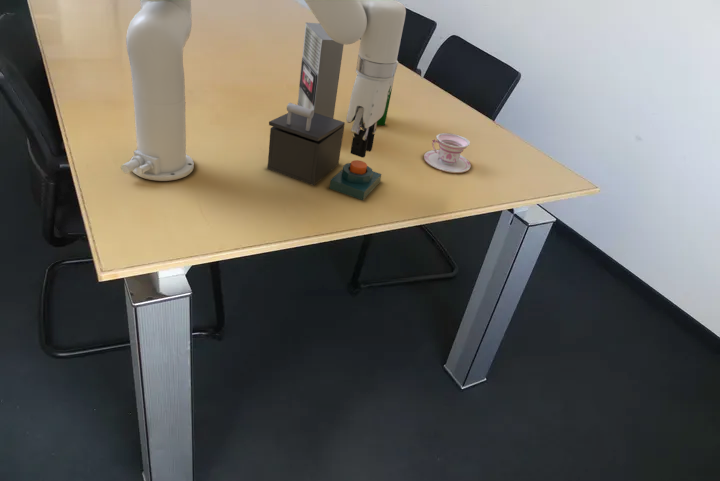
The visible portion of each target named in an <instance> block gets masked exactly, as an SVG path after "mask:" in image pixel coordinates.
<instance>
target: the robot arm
mask: <svg viewBox="0 0 720 481" xmlns="http://www.w3.org/2000/svg"><path fill="white" fill-rule="evenodd" d="M139 2H140V3H139V5H140V10H139V11H138V12H136V14H135V15H134V16H133V18H131V20H130V22H129V25H128V27H127V31H126V37H125V42H126V51H127V57H128V63H129V67H130V75H131V87H132V96H133V110H134V111H133V112H134V126H135V127H134V128H135V140H136V141H135V142H136V149H135V150H133V156H132V157H131V158H130V160H129V161H126V162H124V163H122V164H121V166H120V169H121V171H122V172H123V173H124V174H129V173H131V172H132V173H133V174H135V175H136V176H138V177H140V178H142V179H146V180H150V181H156V182H168V181H169V182H170V181H175V180H180V179H183V178H185V177H187V176H188V175H189V176H190V175H191V173H192V172H193V171H194V168H195V163H194V162H195V161H194V160H193V158H192V157H191V156H190V155H188V154H187V130H186V129H187V125H186V123H187V122H186V84H185V83H186V82H185V68H184V49H185V47H186V44H187V42H188V39H189V38H190V36H191V33H192V24H193V23H192V22H193V20H192V0H139ZM304 2H305V3H306V5H307V7H308V8H309V9H310V11H311V13H312V14H313V16H314V18H316V20H317V22H318V23H320V24H321V26H322V27H323V29H324V30H325V32H326V33H327V34H328V36H329V37H330V38H331V39H333V40H334V41H335V42H337V43H340V44H344V45H352V44H355V43H357V42H358V41H359V40H360V42H359V48H358V55H357V62H356V67H355V73H356V74H357V75H356V76H355V80H354V82H353V86H352V90H351V95H350V98H349V99H350V100H349V104H348V110H347V115H346V122H347V123H348V124H351V123H352V122H353V123H352V126H351V130H350V132H351V133H352V140H351V147H350V154H351V155H354V156H357V157H360V158H363V159H364V158H365V157H366V154H367V152H372V151H373V145H374V141H375V133H376V131H377V126H378V125H377V121H378V120H379V119H380V118H381V117H382V116H383V114H384V111H385V107H386V102H387V96H388V89H389V82H390V80H392V79H393V77H394V78H395V76H394V72H395V67H396V62H397V61H398V57H399V56H398V55H399V51H400V46H401V39H402V35H403V30H404V25H405V21H406V14H407V9H406V7H405V5H404V4H403V3H402V2H400V1H398V0H304ZM395 73H396V72H395ZM362 122H363V123H362Z"/></svg>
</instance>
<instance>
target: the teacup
mask: <svg viewBox="0 0 720 481" xmlns="http://www.w3.org/2000/svg"><path fill="white" fill-rule="evenodd" d="M435 137H436V139H432V143H431V145H432V149H431V150H428V151H426V152H425V153H424V155H423V159H424V161H425V163H427V164H428V165H429V166H431V167H433V168H434V169H436V170H440V171H442V172H447V173H451V174H452V173H453V174H460V173H461V174H463V173H466V172H468V171H470V169H471V166H472V165H471V164H472V163H471V162H470V161H469V160H468V159H467V158H466V157H465V156H463V155H461V154H462V153H463V152H464V150H465V149H467V148H468V147H469V146H470V144H471V142H470V140H469V139H468V138H466V137H464V136H461V135H458V134H456V133H451V132H442V133H438V134H436V136H435ZM435 144H438V146H439V149H436V148H435Z"/></svg>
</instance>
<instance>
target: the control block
mask: <svg viewBox="0 0 720 481" xmlns="http://www.w3.org/2000/svg"><path fill="white" fill-rule="evenodd" d="M350 164H351V162H348V163H345V164H344V165H342V169H341V170H340V171H338V173H336V175H334V176H333V177H332V178H331V179H330V181H329V189H330V190H333V191H335V192H338V193H340V194H344V195H346V196H349V197H353V198H355V199H358V200H360V201H364V200H365V199H366V198H367V197H368V196H369V195H370V194H371V193H372V191H373V190H374V189H376V187H377V186H378V185H379V184H380V183H381V179H382V173H381V172H376V171H374V170H373V169H372V168H371V167H370V166H368V165H367V169H366V173H365V174H355V173H352V172H351V171H350Z"/></svg>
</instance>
